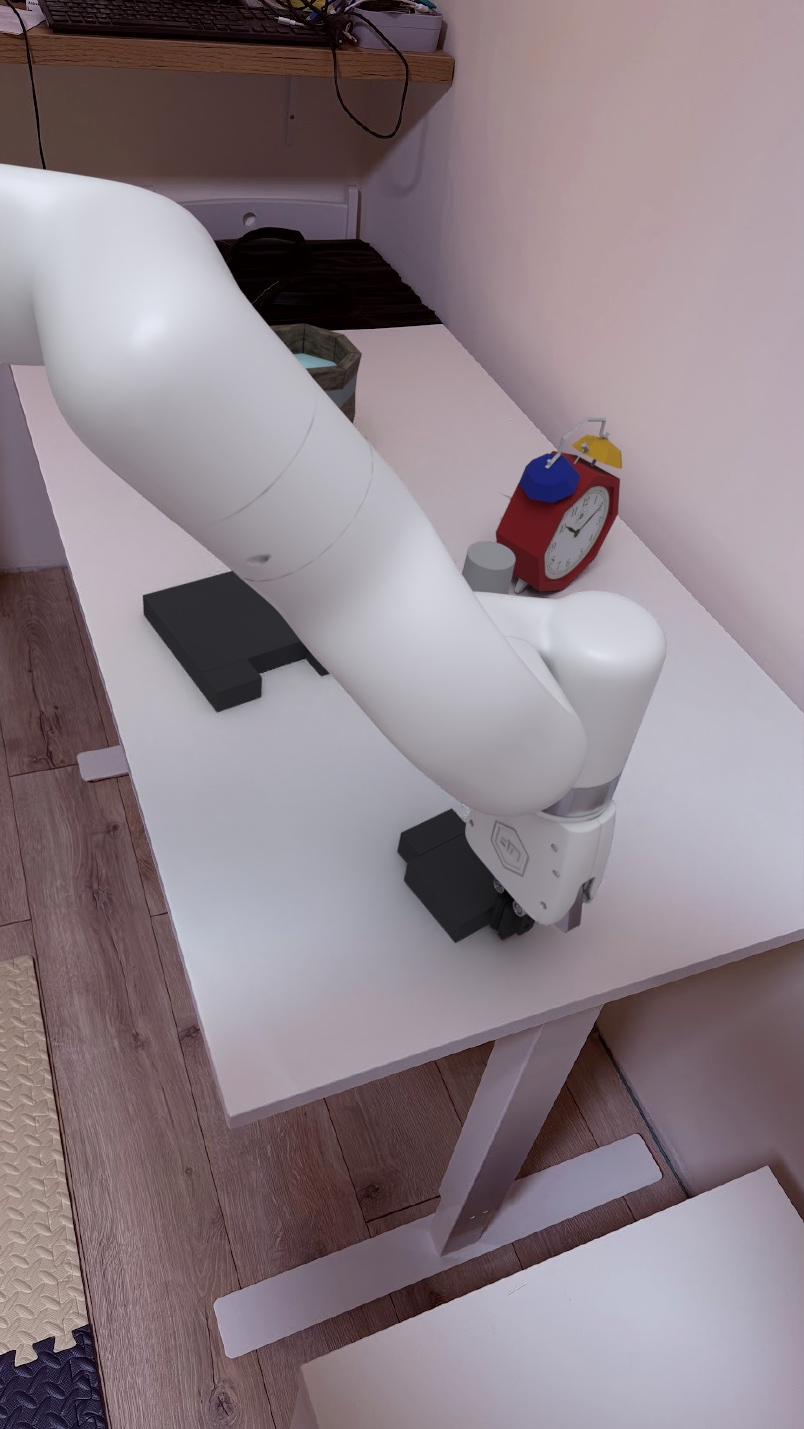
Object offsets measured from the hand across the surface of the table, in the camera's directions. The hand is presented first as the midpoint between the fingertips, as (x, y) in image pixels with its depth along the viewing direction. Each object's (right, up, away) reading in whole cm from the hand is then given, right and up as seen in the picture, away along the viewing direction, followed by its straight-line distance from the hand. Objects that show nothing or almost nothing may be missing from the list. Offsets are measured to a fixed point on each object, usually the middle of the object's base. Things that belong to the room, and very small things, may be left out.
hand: (510, 925), depth 79 cm
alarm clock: (+7, +33, +38) cm, 51 cm away
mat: (-24, +24, +23) cm, 41 cm away
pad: (-4, +3, +4) cm, 6 cm away
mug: (-22, +46, +47) cm, 69 cm away
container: (-2, +20, +23) cm, 30 cm away
